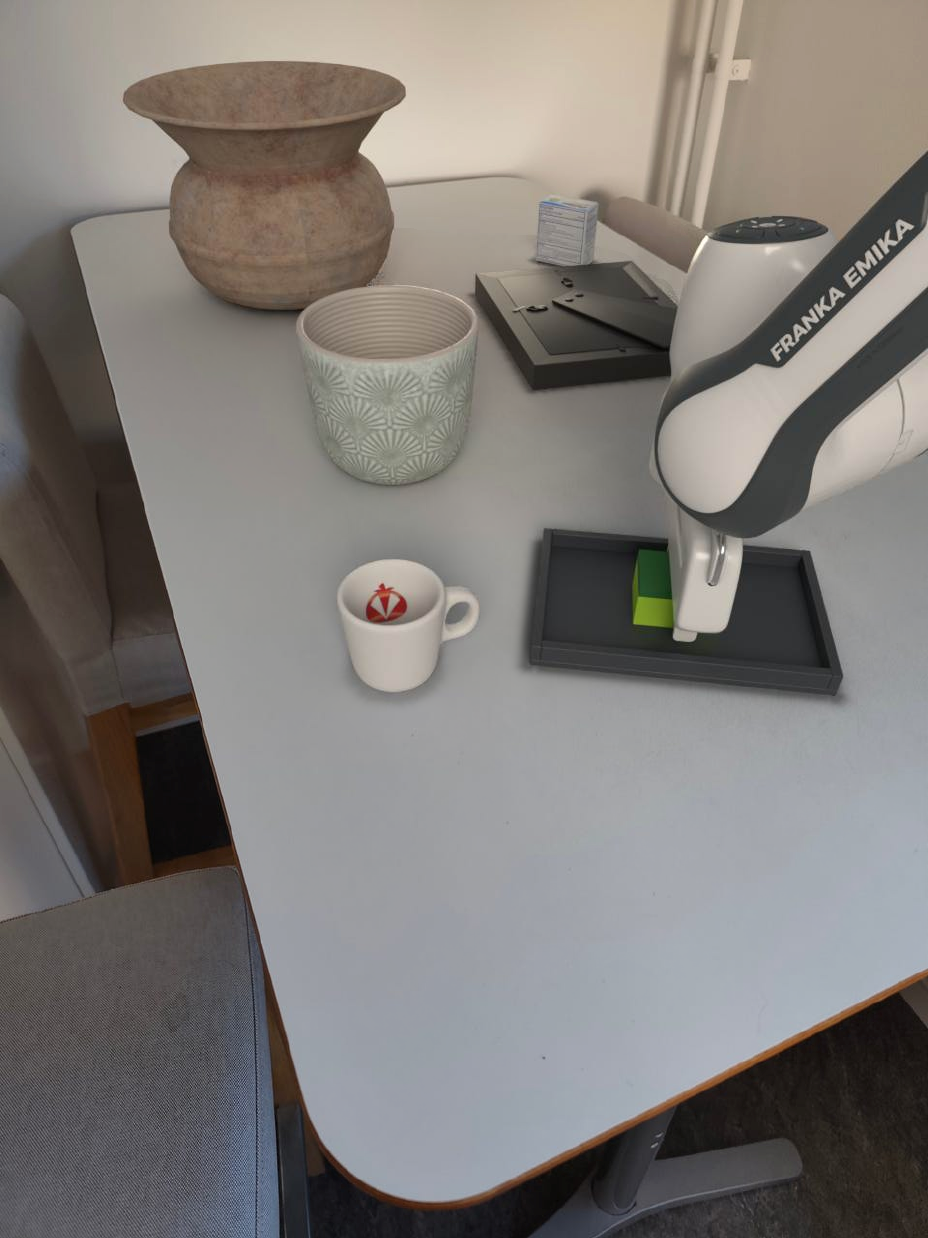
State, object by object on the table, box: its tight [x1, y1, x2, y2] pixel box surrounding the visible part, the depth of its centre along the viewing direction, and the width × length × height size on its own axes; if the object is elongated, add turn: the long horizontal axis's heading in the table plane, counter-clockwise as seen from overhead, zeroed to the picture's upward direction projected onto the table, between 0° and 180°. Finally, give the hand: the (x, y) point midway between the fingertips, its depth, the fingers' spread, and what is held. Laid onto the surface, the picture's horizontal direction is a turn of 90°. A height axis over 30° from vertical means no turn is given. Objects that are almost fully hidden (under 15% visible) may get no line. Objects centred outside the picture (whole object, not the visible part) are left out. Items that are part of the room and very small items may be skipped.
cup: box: [336, 558, 481, 693], centre depth 66 cm, size 11×8×8 cm
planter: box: [295, 284, 480, 486], centre depth 85 cm, size 17×17×15 cm
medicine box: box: [535, 194, 600, 267], centre depth 129 cm, size 8×4×9 cm, turn 60°
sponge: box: [632, 549, 674, 628], centre depth 72 cm, size 7×5×4 cm
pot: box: [122, 60, 407, 311], centre depth 115 cm, size 34×34×25 cm
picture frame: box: [474, 260, 678, 390], centre depth 113 cm, size 23×4×28 cm
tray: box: [529, 527, 844, 696], centre depth 73 cm, size 24×16×2 cm, turn 83°
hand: (679, 596), depth 72 cm, fingers open, 8 cm apart
